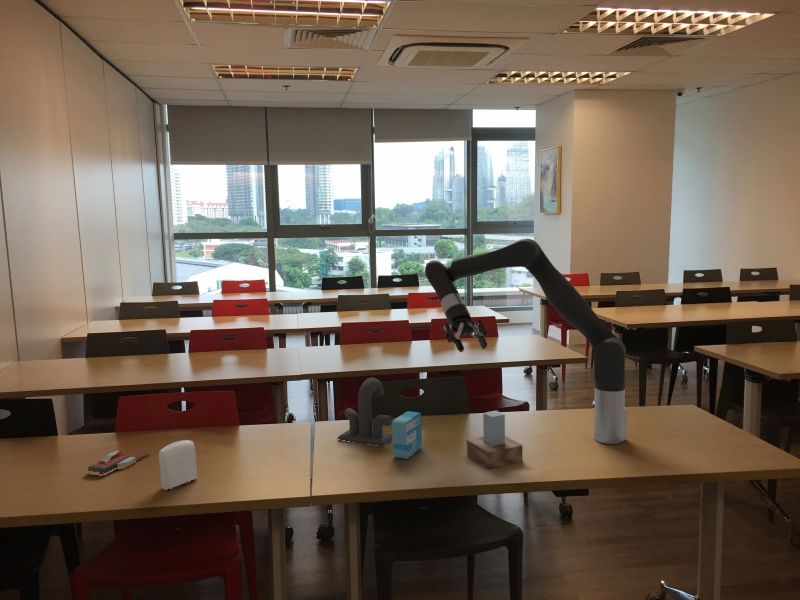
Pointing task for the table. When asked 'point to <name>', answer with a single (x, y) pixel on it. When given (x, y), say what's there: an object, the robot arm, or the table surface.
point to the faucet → (367, 418)
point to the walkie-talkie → (112, 462)
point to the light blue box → (406, 434)
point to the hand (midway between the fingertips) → (473, 349)
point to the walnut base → (494, 452)
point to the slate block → (494, 428)
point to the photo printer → (177, 463)
